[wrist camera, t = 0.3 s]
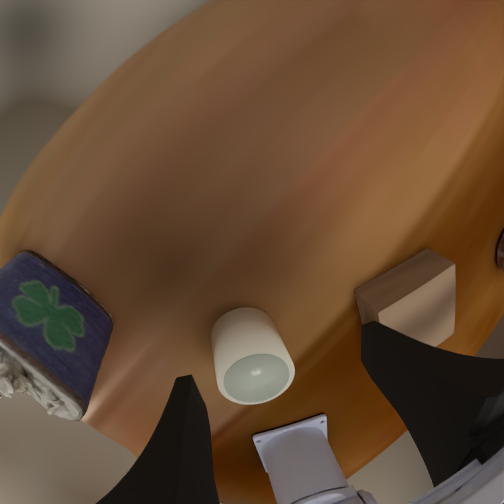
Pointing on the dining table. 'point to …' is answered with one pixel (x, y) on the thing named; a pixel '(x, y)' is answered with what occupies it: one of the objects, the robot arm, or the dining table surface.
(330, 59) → the dining table surface
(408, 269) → the block
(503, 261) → the sauce bottle
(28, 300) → the flask
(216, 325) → the cup
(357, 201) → the dining table surface
